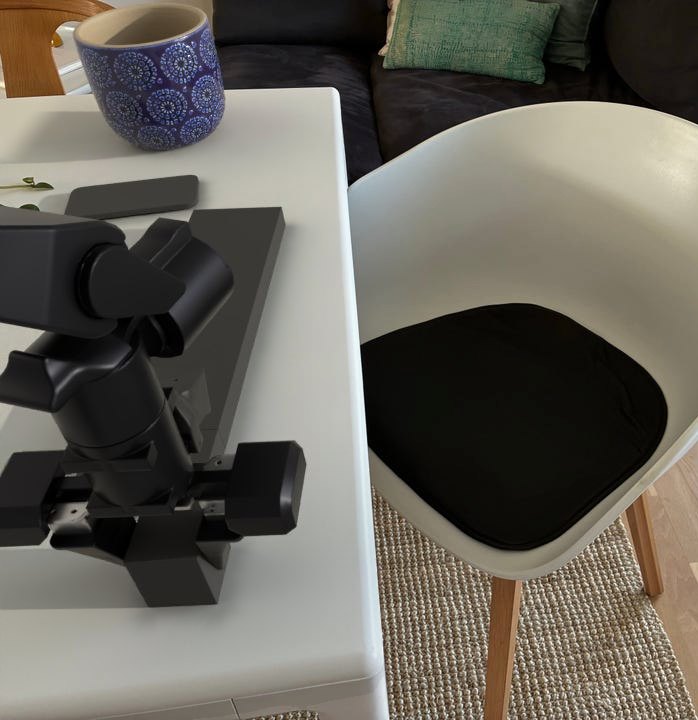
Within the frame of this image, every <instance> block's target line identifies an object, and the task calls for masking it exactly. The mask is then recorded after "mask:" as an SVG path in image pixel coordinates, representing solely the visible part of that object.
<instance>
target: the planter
mask: <svg viewBox="0 0 698 720" xmlns="http://www.w3.org/2000/svg"><path fill="white" fill-rule="evenodd" d="M212 31H213V30H212V28H211V24H210V21H209V18H208V15H207V13H205V11H203V10H202V9H201V8H199V7H195V6H193V5H189V4H183V3H178V2H177V3H176V2H175V3H174V2H152V3H151V2H149V3H140V4H132V5H126V6H121V7H117V8H111V9H109V10H106V11H102V12H99V13H96V14H94V15H92V16H88V18H86V19H84V20H82V21H81V22H79V23H78V24H77V25H76V26H75V27H74V29H73V31H72V39H73V42H74V45H75V48H76V52H77V54H78V57H79V61H80V63H81V66H82V69H83V72H84V74H85V77H86V80H87V82H88V85H89V87H90V90H91V92H92V95H93V98H94V100H95V102H96V104H97V106H98V109H99V111H100V113H101V116H102V117H103V119H104V121H105V123H106V124H107V125H108V127H109V129H110V130H112V132H113V133H115V135H116V136H117V137H119V138H120V139H122V140H123V141H124V142H126V143H128V144H130V145H132V146H134V147H137V148H140V149H145V150H151V151H168V150H176V149H181V148H182V149H183V148H186V147H189V146H192V145H195V144H197V143H200V142H201V141H203V140H205V139H206V138H208V137H209V136H210V135H212V134H213V133H214V132H215V130H216V129H218V127H219V125H220V123H221V121H222V119H223V117H224V114H225V110H226V94H225V88H224V87H225V86H224V81H223V74H222V71H221V64H220V61H219V57H218V52H217V48H216V43H215V39H214V35H213V32H212Z"/></svg>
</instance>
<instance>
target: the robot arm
mask: <svg viewBox="0 0 698 720" xmlns="http://www.w3.org/2000/svg"><path fill="white" fill-rule="evenodd" d="M126 239H127V236H126V233H125V232H124V230H123V229H121V227H119V226H118V225H117V224H115V223H112V222H109V221H106V220H104V219H90V218H83V217H76V216H69V215H64V214H61V213H55V212H48V211H40V210H34V209H27V208H20V207H15V206H6V205H0V324H5V325H10V326H16V327H21V328H27V329H33V330H38V331H43V332H42V334H41V335H39V336H38V337H37V338H36V339H35V340H34V341H33V342H31V344H29V346H28V347H27V348H25V350H18V349H13V350H11V351H9V353H8V359H7V363H6V366H5V368H4V369H3V371H2V372H1V374H0V404H5V405H8V406H13V407H19V408H23V409H29V410H34V411H38V412H44V413H49V414H50V416H51V417H52V419H53V421H54V422H55V425H56V427H57V428H58V430H59V432H60V434H61V435H62V437H63V439H64V441H65V443H66V446H65V449H50V450H49V449H45V450H23V451H15V452H12V454H11V455H10V456H9V458H8V459H7V460H6V462H5V464H4V466H3V467H2V469H1V471H0V548H12V547H13V548H14V547H36V546H41V545H42V544H43V543H44V542H45V541H46V539H48V537H49V534H50V532H52V534H51V535H50V539H49V545H50V547H51V548H52V549H53V550H55V551H68V552H71V553H72V552H73V553H75V554H79V555H82V556H87V557H91V558H94V559H98V560H102V561H106V562H109V563H111V564H114V565H118V566H120V567H125V565H124V563H123V561H124V558H125V555H126V552H127V549H128V547H129V544H130V541H131V538H132V535H133V532H134V529H135V526H136V524H137V520H136V518H135V517H139V516H158V515H173V513H174V510H190V509H192V508H193V506H194V503H195V500H199V504H200V506H201V509H204V510H203V513H202V517H201V521H200V524H199V528H198V532H197V535H196V539H195V542H196V544H197V545H198V547H199V548H200V550H201V551H202V552H203V554H204V555H205V556H206V558H207V559H208V561H209V562H210V563H211V565H213V566H214V567H215V568H216V569H218V570H223V569H224V566H225V562H226V557H227V550H228V543H230V544H234V543H239V542H241V541H242V540H243V539H245V537H267V536H268V537H269V536H287V535H288V534H289V533H290V532H292V531H293V530H295V529H296V528H297V527H298V522H299V521H298V520H299V514H300V508H301V501H302V496H303V490H304V489H303V488H304V482H305V476H306V470H307V465H308V464H307V459H306V456H305V452H304V448H303V447H302V446H301V445H300V444H299V443H298V442H297V440H295V439H288V440H285V439H284V440H263V441H262V440H261V441H243V442H238V443H237V446H236V449H235V453H224V454H220V455H216V456H214V457H212V458H211V459H210V460H209V461H208V462H207V463H192V462H191V459H190V458H191V455H192V454H194V453H199V452H200V449H201V446H202V443H203V437H202V434H201V431H200V429H199V425H200V423H201V422H202V420H203V419H204V417H205V416H206V415H208V414H209V413H210V412H211V407H210V402H209V396H208V390H207V384H206V379H205V373H204V369H203V368H202V367H198V366H188V367H163V368H154V367H153V365H152V362H151V360H150V357H159V358H173V357H176V356H181V355H182V354H183V353H184V352H185V350H186V349H187V348H188V347H189V346H190V344H191V343H192V342H193V341H194V340H195V338H196V337H197V336H198V335H199V334H200V332H201V331H202V330H203V329H204V328H205V326H206V325H207V324H208V323H209V321H210V320H211V319H212V318H213V317H214V315H215V314H216V313H217V312H218V311H219V309H220V308H221V307H222V306H223V305H224V303H225V302H226V301H227V300H228V299H229V297H230V296H231V294H232V292H233V289H234V276H233V273H232V270H231V268H230V267H229V266H228V265H226V264H225V262H224V260H223V259H222V258H221V257H220V256H219V255H218V253H217V252H216V251H215V250H214V249H212V248H211V247H210V246H209V245H207V244H206V243H205V242H203V241H201V240H200V239H198V238H196V237H194V236H193V234H192V231H191V228H190V225H189V222H188V220H182V219H181V220H180V219H174V218H167V217H161V216H159V217H158V218H156V220H155V221H153V223H152V224H150V225H149V226H148V228H147V229H146V230H145V232H144V233H143V235H142V236H141V237H140V238H139V239H138V240H137V241H136V242H135V243H134V244H133V245H132V246H131V247H130V248H129V247H128V245H127V243H126ZM77 473H84V474H82V475H80V476H76V475H73V474H77ZM125 568H126V567H125Z"/></svg>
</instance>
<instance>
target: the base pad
mask: <svg viewBox="0 0 698 720" xmlns="http://www.w3.org/2000/svg"><path fill="white" fill-rule="evenodd" d="M285 220H286V219H285V216H284V211H283V207H282V206H258V207H256V206H255V207H232V208H231V207H230V208H229V207H228V208H227V207H225V208H202V209H201V208H200V209H199V208H198V209H197V208H196V209H193V210H192V212H191V215H190V217H189V219H188V220H187V222H189V225H190V228H191V231H192V234H193V236H194V237H196V238H198V239H200V240H201V241H203V242H205V243H206V244H207V245H209V246H210V247H211V248H212V249H214V250H215V251H216V252H217V253H218V255H219V256H220V257H221V258H222V259H223V260H224V262H225V264H226V265H228V266H229V267H230V268H231V270H232V273H233V276H234V289H233V292H232V294H231V296H230V297H229V299H228V300H227V301H226V302H225V303H224V305H223V306H222V307H221V308H220V309H219V311H218V312H217V313H216V314H215V315H214V317H213V318H212V319H211V320H210V321H209V323H208V324H207V325H206V326H205V328H204V329H203V330H202V331H201V332H200V334H199V335H198V336H197V337H196V338H195V340H194V341H193V342H192V343H191V344H190V346H189V347H188V348H187V349H186V350H185V352H184V353H183V354H182V355H181V356H176V357H173V358H159V357H150V360H151V362H152V365H153V367H154V368H163V367H188V366H198V367H202V368H203V369H204V373H205V379H206V384H207V390H208V396H209V402H210V407H211V412H210V413H209V414H208V415H206V416H205V417H204V419H203V420H202V422H201V423H200V425H199V429H200V431H201V434H202V437H203V443H202V446H201V449H200V452H199V453H194V454H192V455H191V458H190V459H191V462H192V463H207V462H208V461H209V460H210V459H211V458H212V457H214V456H216V455H220V454H225V452H226V448H227V445H228V441H229V438H230V434H231V429H232V426H233V422H234V419H235V415H236V412H237V408H238V404H239V400H240V397H241V393H242V390H243V386H244V382H245V379H246V374H247V371H248V367H249V363H250V359H251V355H252V351H253V348H254V345H255V341H256V337H257V333H258V329H259V325H260V322H261V318H262V316H263V311H264V307H265V303H266V300H267V296H268V292H269V288H270V285H271V281H272V277H273V273H274V270H275V266H276V263H277V259H278V256H279V252H280V247H281V244H282V240H283V236H284V233H285V230H286V224H287V223H286V221H285ZM75 474H76V475H75V476H80V475H82V474H84V473H75ZM195 501H199V500H195Z"/></svg>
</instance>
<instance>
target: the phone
mask: <svg viewBox="0 0 698 720" xmlns="http://www.w3.org/2000/svg"><path fill="white" fill-rule="evenodd" d="M199 193H200V180H199V177H198V176H197V175H196V174H183V175H174V176H165V177H156V178H147V179H138V180H129V181H120V182H113V183H112V182H111V183H104V184H103V183H102V184H95V185H86V186H85V185H84V186H79V187H76V188H74V189H72V190H71V192H70V193H69V196H68V199H67V203H66V206H65V209H64V214H63V215H69V216H76V217H83V218H90V219H97V220H104V219H112V218H113V219H114V218H120V217H121V218H122V217H127V216H128V217H129V216H137V215H145V214H153V213H162V212H170V211H171V212H172V211H178V210H186V209H191V208H194V207H196V206H197V205H198V203H199V196H200V195H199Z"/></svg>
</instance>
